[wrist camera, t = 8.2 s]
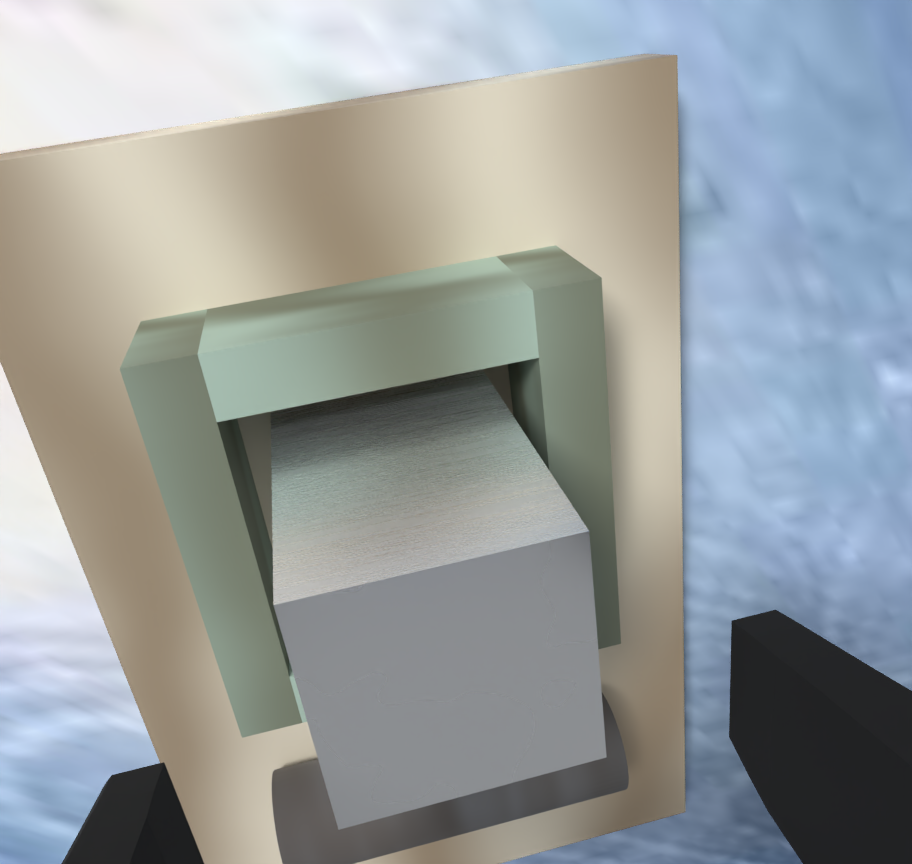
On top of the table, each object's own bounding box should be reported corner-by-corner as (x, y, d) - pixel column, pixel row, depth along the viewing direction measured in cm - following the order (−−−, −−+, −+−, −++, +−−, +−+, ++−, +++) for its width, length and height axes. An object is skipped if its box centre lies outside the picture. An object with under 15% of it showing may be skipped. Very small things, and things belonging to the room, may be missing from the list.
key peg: (313, 559, 18) (338, 829, 12) (270, 390, 16) (273, 604, 10) (492, 517, 19) (606, 756, 12) (469, 350, 17) (588, 530, 11)
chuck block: (232, 888, 24) (226, 1036, 20) (-44, 161, 15) (-142, 198, 11) (663, 771, 25) (728, 890, 22) (643, 54, 17) (747, 57, 13)
